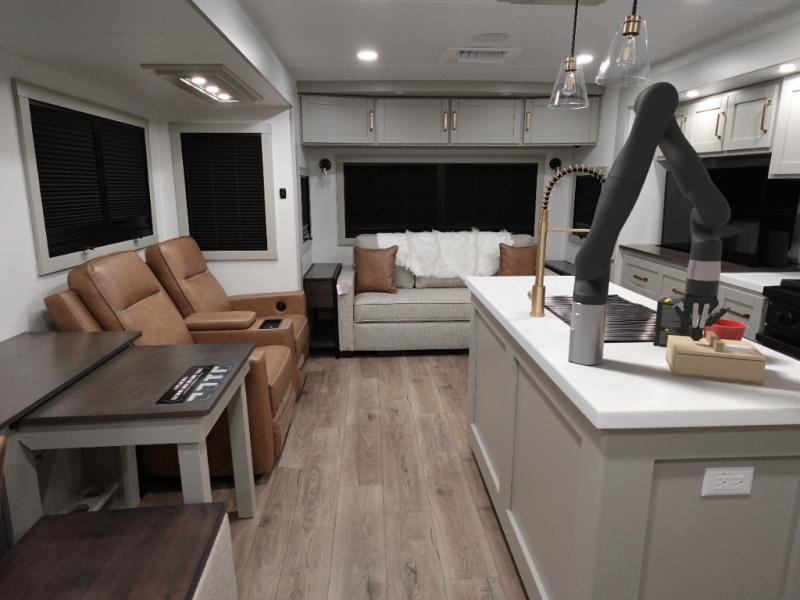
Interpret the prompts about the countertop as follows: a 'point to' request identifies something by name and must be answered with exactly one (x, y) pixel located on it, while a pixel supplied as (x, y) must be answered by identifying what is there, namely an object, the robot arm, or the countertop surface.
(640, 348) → the countertop surface
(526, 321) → the countertop surface
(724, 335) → the flower pot
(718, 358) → the box
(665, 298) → the tampon box
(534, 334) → the countertop surface
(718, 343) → the lid
